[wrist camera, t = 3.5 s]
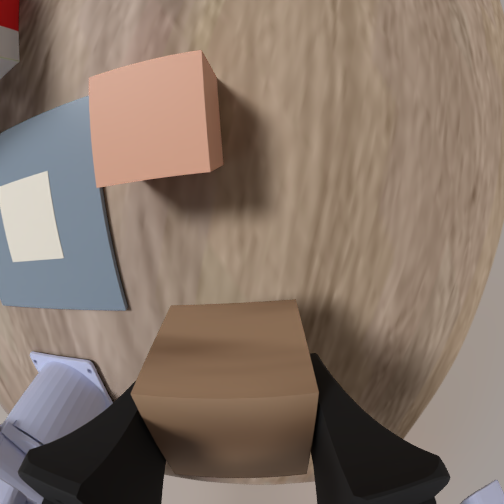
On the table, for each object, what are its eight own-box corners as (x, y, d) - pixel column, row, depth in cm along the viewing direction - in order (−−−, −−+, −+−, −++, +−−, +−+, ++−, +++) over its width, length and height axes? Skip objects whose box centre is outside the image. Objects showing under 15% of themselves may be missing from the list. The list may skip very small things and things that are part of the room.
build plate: (128, 307, 18) (125, 310, 18) (5, 303, 19) (2, 305, 18) (94, 95, 14) (91, 94, 13) (-28, 150, 14) (-31, 151, 14)
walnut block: (294, 387, 13) (306, 474, 8) (192, 390, 13) (175, 474, 8) (295, 299, 11) (318, 392, 7) (171, 305, 11) (130, 393, 7)
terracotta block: (223, 164, 15) (210, 171, 11) (138, 175, 16) (96, 188, 11) (217, 78, 14) (201, 49, 9) (132, 93, 14) (88, 77, 9)
